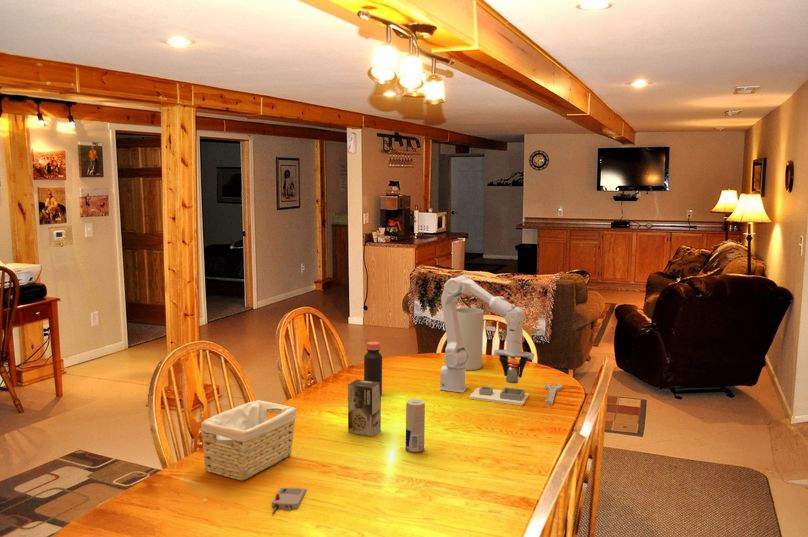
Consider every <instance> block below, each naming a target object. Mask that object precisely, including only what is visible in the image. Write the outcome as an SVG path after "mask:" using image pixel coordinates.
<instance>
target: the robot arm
mask: <svg viewBox="0 0 808 537" xmlns="http://www.w3.org/2000/svg"><path fill="white" fill-rule="evenodd" d="M465 294H467V295H469V294H471V295H472V296H474V297H476V298H478V299H480V300H481V301H482V302H484V303H487V304H488V306H489V309H490V310H491V311H493V313H496V314H498V315H499V316H500V317H502V318H503V319H504V320H505V322H506V343H505V344H506V347H505V348H506V349H494V350H493V356H494V357H495V356H496V357H497V356H498V357H499V362H500V363H501V364H500V365H501V367H502V369H503V374H504V375H503V377H506V374H507V362H509V358H519V361H518V363H519V365H520V367H519V379H520V378H522V377H523V371H524V369H525V366H526V364H527V362H528V360H535V359H534V358H535V353H534V352H528V351H524V350H523V332H524V330H523V329H524V326H523V323H524V322H523V321H525V319H526V312H525V310H524V309H523V308H522V307H521V306H516V305H515V304H514V303H512V304H511V303H510V302H508V300H506V299H505V297H504V296H500V295H498V296H497V295H496V296H494V295H493V294H491V293H489V292H488V291H487V290H486V289H485V288H483V287H482V286H480V285H478V284H477V282H475V281H474V280H473V279H471V278H469V277H468V276H466V275H459V276H457V277H451V278H449V279H447V281H446V282H445V283H444V284H443V290H442V294H441V296H440V300H441V308H442V314H443V321H444V327H445V328H444V329H445V334H446V341H447V343H446V347H445V348H444V351H445V352H444V357H443V358H444V364H445V365H441V368H440V373H439V374H440V376H439V382H440V383H439V390H440V391H445V392H455V393H464V392H465V391H466V390H467V389H468V388H469V386H468V385H466V370H465V369H466V365H465V362H467V360H468V357H469V356H468V352H467V351H466V349H465V345H464V343H463V342H462V341H461V335H460V329H459V322H458V315H457V309H458V308H457V304H456V303H457V302H456V301H457V300H458V299H459V297H460V296H461V295H465Z"/></svg>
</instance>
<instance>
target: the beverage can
mask: <svg viewBox="0 0 808 537" xmlns="http://www.w3.org/2000/svg"><path fill="white" fill-rule="evenodd" d="M405 407H406V408H405V449H406V450H407V451H408V452H409V453H419V452H422V451H423V450H424V449H425V423H426V422H425V421H426V419H425V417H426V416H425V414H426V411H425V410H426V404H425V400H423V399H419V398H418V399H417V398H415V399H414V398H411V399H408V400H406V405H405Z"/></svg>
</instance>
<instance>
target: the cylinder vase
mask: <svg viewBox="0 0 808 537" xmlns="http://www.w3.org/2000/svg"><path fill="white" fill-rule="evenodd" d="M457 315H458V322H459V329H460V335H461V341H462V342H463V343H464V345H465V349H466V351H467V352H468V356H469V357H468V360H467V362H465V365H466V369H465V371H476V370H477V371H478V370H479V369H481V368H482V366H483V339H484V338H483V336H484V310H483V309H481V308H475V307H460V308H459V307H458V308H457Z"/></svg>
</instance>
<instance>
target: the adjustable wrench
mask: <svg viewBox="0 0 808 537" xmlns="http://www.w3.org/2000/svg"><path fill="white" fill-rule="evenodd" d="M544 389H545V390H547V391H549V392H548V394H547V396H546V399H545V404H546V405H545V404H544V405H545V406H548V405H552V406H553V405H554V401H555V397H556V393H557V392H559V391H562V390H563V385H562V384H561V383H556V385H553V384H551V383H550V382H549V383H547V384H545V385H544Z"/></svg>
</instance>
